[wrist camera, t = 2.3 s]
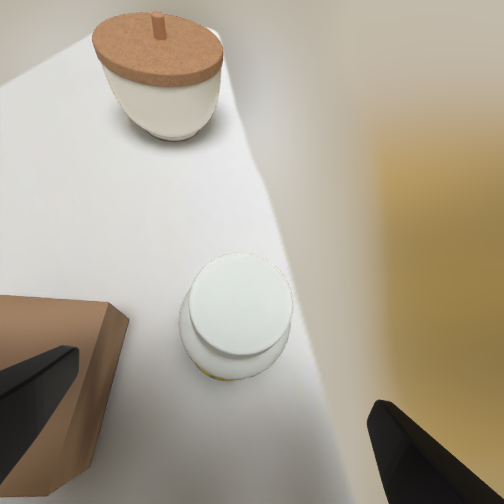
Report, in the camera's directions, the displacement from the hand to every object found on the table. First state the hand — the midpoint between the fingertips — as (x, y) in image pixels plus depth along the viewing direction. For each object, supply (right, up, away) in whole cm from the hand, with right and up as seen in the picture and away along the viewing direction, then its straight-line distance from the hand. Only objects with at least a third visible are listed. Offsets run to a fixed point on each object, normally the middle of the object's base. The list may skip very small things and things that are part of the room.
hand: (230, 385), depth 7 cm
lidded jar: (-8, +18, +21) cm, 29 cm away
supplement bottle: (-1, -2, +10) cm, 11 cm away
